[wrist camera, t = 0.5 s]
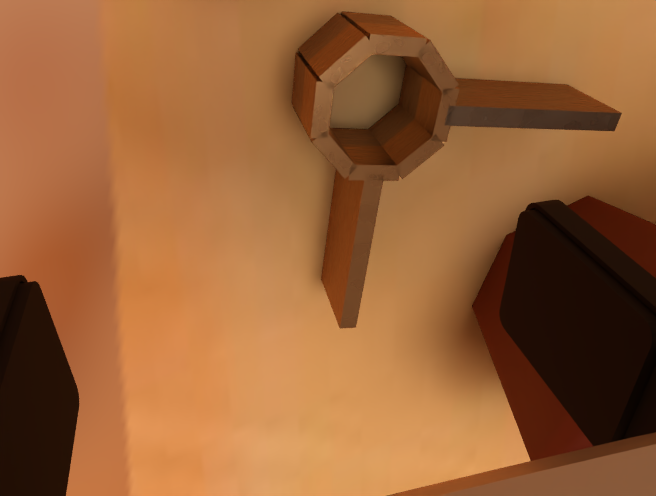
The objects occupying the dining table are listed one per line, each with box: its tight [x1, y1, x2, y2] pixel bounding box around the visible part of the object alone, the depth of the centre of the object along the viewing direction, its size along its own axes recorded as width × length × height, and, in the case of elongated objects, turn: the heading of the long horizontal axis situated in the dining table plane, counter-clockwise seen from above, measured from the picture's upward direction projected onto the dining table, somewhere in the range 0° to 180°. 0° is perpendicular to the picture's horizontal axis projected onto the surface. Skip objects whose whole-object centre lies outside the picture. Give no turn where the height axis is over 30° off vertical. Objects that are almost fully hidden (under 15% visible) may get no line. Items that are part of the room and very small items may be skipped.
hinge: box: [292, 12, 622, 328], centre depth 39 cm, size 20×20×6 cm
